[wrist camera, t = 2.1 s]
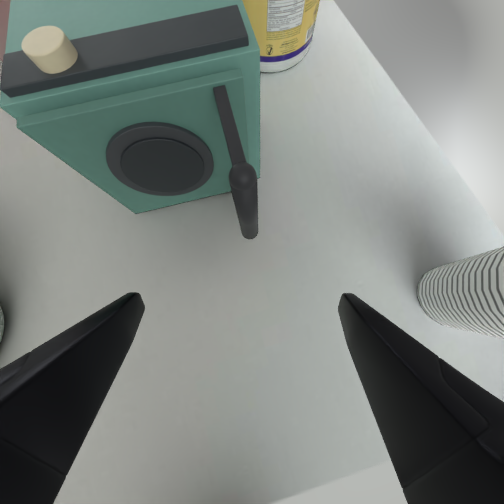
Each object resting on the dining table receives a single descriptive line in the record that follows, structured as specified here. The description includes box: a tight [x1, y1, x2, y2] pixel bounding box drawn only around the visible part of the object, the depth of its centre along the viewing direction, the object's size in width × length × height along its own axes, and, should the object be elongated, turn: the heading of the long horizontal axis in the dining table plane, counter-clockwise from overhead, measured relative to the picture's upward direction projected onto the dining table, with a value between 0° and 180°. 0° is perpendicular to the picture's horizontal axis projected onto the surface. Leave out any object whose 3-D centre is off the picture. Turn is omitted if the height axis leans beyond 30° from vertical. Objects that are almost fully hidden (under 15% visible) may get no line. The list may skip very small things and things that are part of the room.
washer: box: [0, 0, 260, 178], centre depth 19 cm, size 12×16×14 cm
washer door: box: [17, 68, 258, 239], centre depth 17 cm, size 8×14×12 cm, turn 104°
